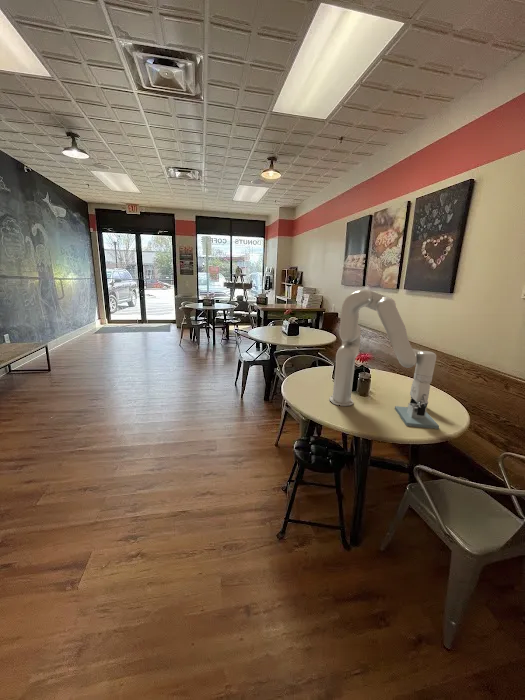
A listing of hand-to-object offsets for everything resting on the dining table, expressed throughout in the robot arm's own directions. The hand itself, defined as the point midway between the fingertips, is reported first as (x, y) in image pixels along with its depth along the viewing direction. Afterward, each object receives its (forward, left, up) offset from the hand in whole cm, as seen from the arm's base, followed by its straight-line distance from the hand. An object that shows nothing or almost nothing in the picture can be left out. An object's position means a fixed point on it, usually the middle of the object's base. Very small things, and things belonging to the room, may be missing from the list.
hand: (416, 410), depth 141 cm
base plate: (0, 0, -4) cm, 4 cm away
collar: (0, 0, -2) cm, 2 cm away
